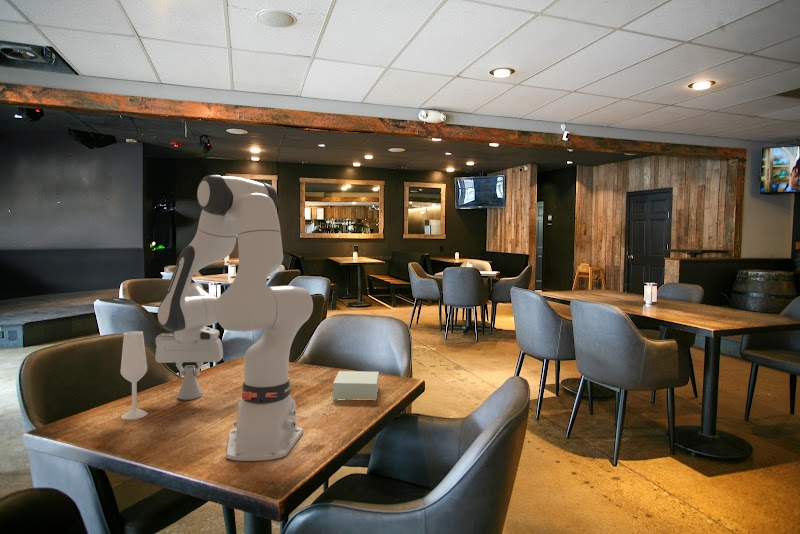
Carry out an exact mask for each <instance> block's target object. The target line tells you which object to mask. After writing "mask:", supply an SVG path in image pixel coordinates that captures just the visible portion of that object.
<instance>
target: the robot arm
mask: <svg viewBox="0 0 800 534" xmlns="http://www.w3.org/2000/svg"><path fill="white" fill-rule="evenodd" d="M196 200H197V203H198V205H199V207H200V208H201V209H202V210H201V212H200V215H199V219H198V225H197V231H196V234H195V236H194V237H193V239H192V241H191V242H190V243H189V244H188V245H187V246H186V247H184V248H182V250H181V252H180V254H179V256H178V258H177V261H176V265H175V267H174V269H173V272H172V275H171V278H170V281H169V284H168V287H167V289H166V292H165V295H164V297H163V299H162V301H161V302H160V304H159V306H158V309H157V314H156V315H157V321H158V323H159V325H160V326H162V328H164V329H165V330H167V331H169V333H165V332H164V333H163V332H161V333H160V334H158V335H156V337H155V345H156V348H155V354H154V355H155V357H154V358H155V361H156V362H157V363H159V364H160V363H161V364H162V363H164V364H166V363H175V367H176V368H177V370H178V371H179V376H180V377H184V376H185V369H184V366H183V364H184V363H196V366H197V367H196V368H194V370H193V373H194V374H193V376H195V377H197V376H200V375H201V374H200V372H201V371H200V370H201V368H202V366H203V365H204V363H211V362H212V363H218V362H220V361H221V360H222V359H223V358H224V349H223V344H222V343H223V342H222V340H221V339H220V338H219V336H220V330H218V329H216V328H211V327H208V326H212V325H215V324H219V326H221V328H222V329H224V330H225V331H229V332H230V331H231V332H243V333H244V332H245V333H246V332H252V331H254V332H255V331H261V330H263V332H262V335H261V336H260V338H259V339H258V340H257V341H256V342H255V343H254V344H251V345H250V346H249V347H248V348H247V350H246V351H245V354H244V365H243V366H244V373H243V374H244V379H243V380H244V381H243V382H242V387H241V399H240V401H239V402H238V403H237V405H238V406H237V407H238V408H237V410H238V414H237V419H236V420H235V421H234V422H233V423H234V424H233V425H234V427H235V428H232V429H230V430H229V433H228V440H227V445H226V454H225V458H226V459H229V460H232V461H240V462H241V461H243V462H244V461H245V462H253V461H254V462H257V461H259V462H260V461H271V460H276V459H280V458H284V457H287V455H288V454H289V452H291V450H292V448H293V447H294V445H296V443H297V441H298V440H299V438H301V436H302V435H303V433H304V430H303V428H302V427H299V426H297V408H296V407H297V406H296V405H297V404H296V401H295V400H294V399H293V398H292V397H291V396H290V394H291V381H290V378H289V365H290V364H289V363H290V353H291V347H292V344H293V341H294V339H295V337H296V335H297V333H298V332H299V330H300V328H301V327H302V326H303V325H304V324H305V323H307V321H308V320H310V317H311V315H312V314H313V310H314V301H313V298H312V295H311V293H310V292H309V290H307V289H306V288H305V287H299V286H294V285H275V286H274V285H273V286H268V285H267V281H268V280H267V279H268V277H269V274H271V273H273V272H275V271H276V270H277V269H279V267H280V266H281V265H282V263H283V261H284V253H283V251H284V250H283V241H282V233H281V231H282V230H281V225H280V219H279V215H278V211H277V208H278V204H279V198H278V192H277V190H276V189H275V187H274V186H272V185H271V184H268V183H265V182H262V181H255V180H252V179H248V178H247V179H246V178H243V177H240V176H226V175H223V176H221V175H219V174H212V175H211V174H210V175H205V176H204V177H203V178H202V179H201V180H200V181H199V183H198V186H197V190H196ZM236 243H237V248H238V267H237V271H236V275H235V277H234V280H233V281H232V283H231V284H230V285H229V287H228V288H227V289H225V291H223V293H221V295H220V296H219V297H218V296H216V295H213V294H210V293H209V292H207V291H206V290H205V289H204V287H203V285H202V284H201V283H198V282H192V279H193V277H194V275H196V274H197V273H198V272H199V271H200V270H201V269H204V268H205V267H207V266H210V265H212V264H215V263H217V262H221V261H223V260H224V259H226V258H227V257H229V256H230V255H231V254H232V253H233V251H234V249H235V247H236Z"/></svg>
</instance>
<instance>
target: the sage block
mask: <svg viewBox="0 0 800 534" xmlns="http://www.w3.org/2000/svg"><path fill="white" fill-rule="evenodd" d="M379 375H380V373H379V371H361V370H360V371H354V370H342V371H341V370H339V371H338V372H337V374H336V376H335V378H334V380H333V383H332V401H335V400H334V399H345V400H353V399H355V400H356V399H378V394H377V392H378V393H379V388H378V386H379V385H380V384H379V379H380V377H379Z"/></svg>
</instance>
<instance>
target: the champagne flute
mask: <svg viewBox="0 0 800 534" xmlns="http://www.w3.org/2000/svg"><path fill="white" fill-rule="evenodd" d="M122 341H123V342H122V348H121V349H122V352H121V362H120V372H119V373H120V374H121V376H122V377H123V378H124V379H125V380H127V381H128V382H130V383H131V409H129V410H128V411H127V412H126V413H124V414H122V415H121V419H122V420H138V419H141V418H144V417H146V416H147V415H148V413H149V412H147V411H145V410H142V409H140V408H138V394H137V393H138V391H137V389H138V387H137V382H139V381H140V380H141V379H142V378H143V377H144V376H145V375H146V373H147V372H148V363H147V355H146V347H145V337H144V331H142V330H138V331H137V330H136V331H134V330H133V331H126V332H124V333H123V339H122Z"/></svg>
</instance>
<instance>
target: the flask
mask: <svg viewBox="0 0 800 534" xmlns="http://www.w3.org/2000/svg"><path fill="white" fill-rule="evenodd" d="M183 369H185V376H183V377H184V378H183V381H182V382H181V387H180V389H179V392H178V394H177V397H176V399H180V400H183V401H184V400H185V401H186V400H188V401H189V400H194V399H195V400H196V399H198V398H200V397H201V396H202V395H203V391H202V389H201V387H200V385H199V383H198V380H197V378H196V377H197V376H193V374H194V373H193V370H195V369H196V365H190V364H189V365H185V366H183Z"/></svg>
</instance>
